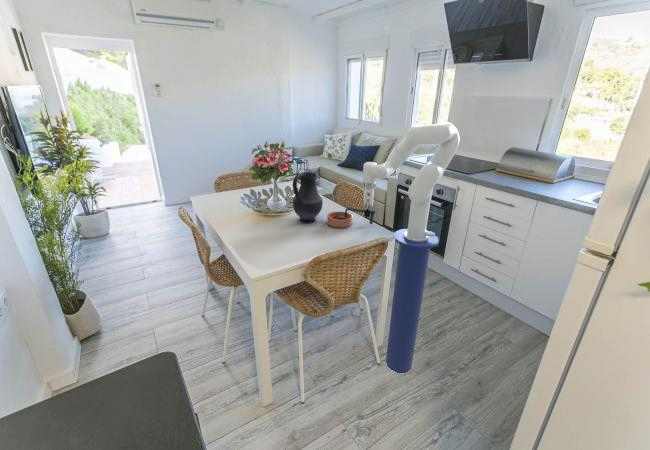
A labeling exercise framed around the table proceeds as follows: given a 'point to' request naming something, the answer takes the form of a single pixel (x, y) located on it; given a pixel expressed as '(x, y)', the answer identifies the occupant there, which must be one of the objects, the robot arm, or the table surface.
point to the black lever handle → (358, 211)
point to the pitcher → (307, 197)
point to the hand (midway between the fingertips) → (367, 216)
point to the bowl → (333, 220)
